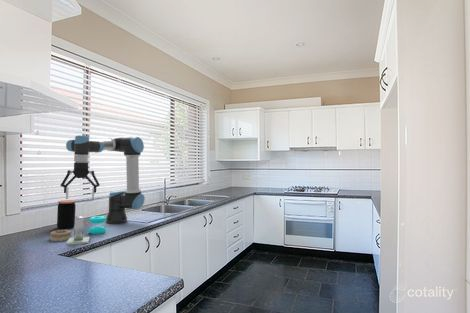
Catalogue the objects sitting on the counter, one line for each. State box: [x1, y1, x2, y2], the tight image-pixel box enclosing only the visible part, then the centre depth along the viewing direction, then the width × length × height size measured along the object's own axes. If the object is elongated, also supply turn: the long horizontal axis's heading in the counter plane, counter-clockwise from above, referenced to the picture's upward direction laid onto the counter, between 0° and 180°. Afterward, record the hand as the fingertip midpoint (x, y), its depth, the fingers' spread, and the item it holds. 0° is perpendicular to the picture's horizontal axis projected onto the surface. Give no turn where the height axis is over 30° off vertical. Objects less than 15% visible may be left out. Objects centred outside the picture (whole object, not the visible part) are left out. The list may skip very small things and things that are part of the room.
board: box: [65, 236, 91, 246], centre depth 176 cm, size 11×11×1 cm
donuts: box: [88, 215, 107, 235], centre depth 197 cm, size 10×10×10 cm
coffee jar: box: [56, 199, 77, 230], centre depth 208 cm, size 11×11×18 cm
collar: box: [49, 229, 72, 242], centre depth 180 cm, size 10×10×4 cm
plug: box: [73, 215, 85, 241], centre depth 176 cm, size 5×5×13 cm
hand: (80, 198), depth 177 cm, fingers open, 13 cm apart
